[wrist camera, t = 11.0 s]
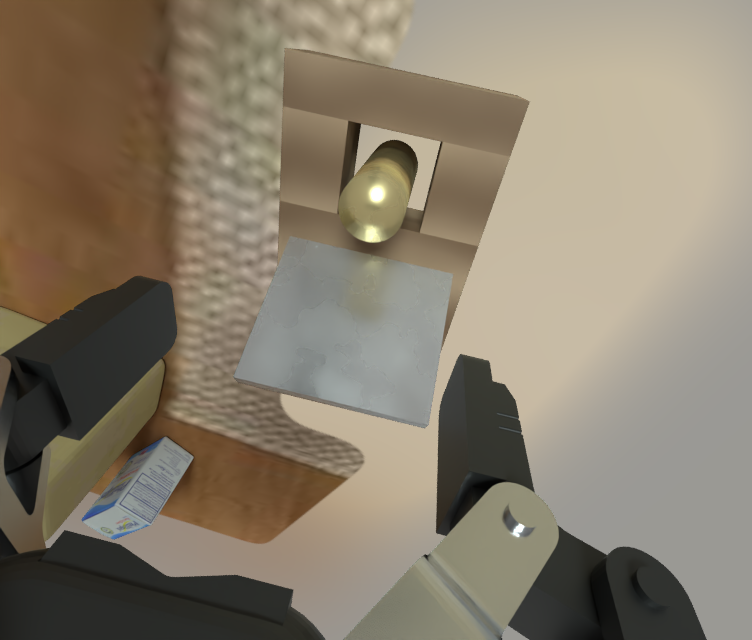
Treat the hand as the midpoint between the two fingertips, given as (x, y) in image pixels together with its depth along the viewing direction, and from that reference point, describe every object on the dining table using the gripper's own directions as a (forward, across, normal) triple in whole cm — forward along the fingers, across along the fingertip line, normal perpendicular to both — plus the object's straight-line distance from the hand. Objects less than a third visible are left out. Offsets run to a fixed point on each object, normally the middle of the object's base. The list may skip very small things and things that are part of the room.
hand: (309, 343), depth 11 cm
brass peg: (+18, 0, -1) cm, 18 cm away
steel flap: (+10, 0, +6) cm, 11 cm away
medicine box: (+18, +21, +38) cm, 47 cm away
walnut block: (+18, 0, +4) cm, 18 cm away
